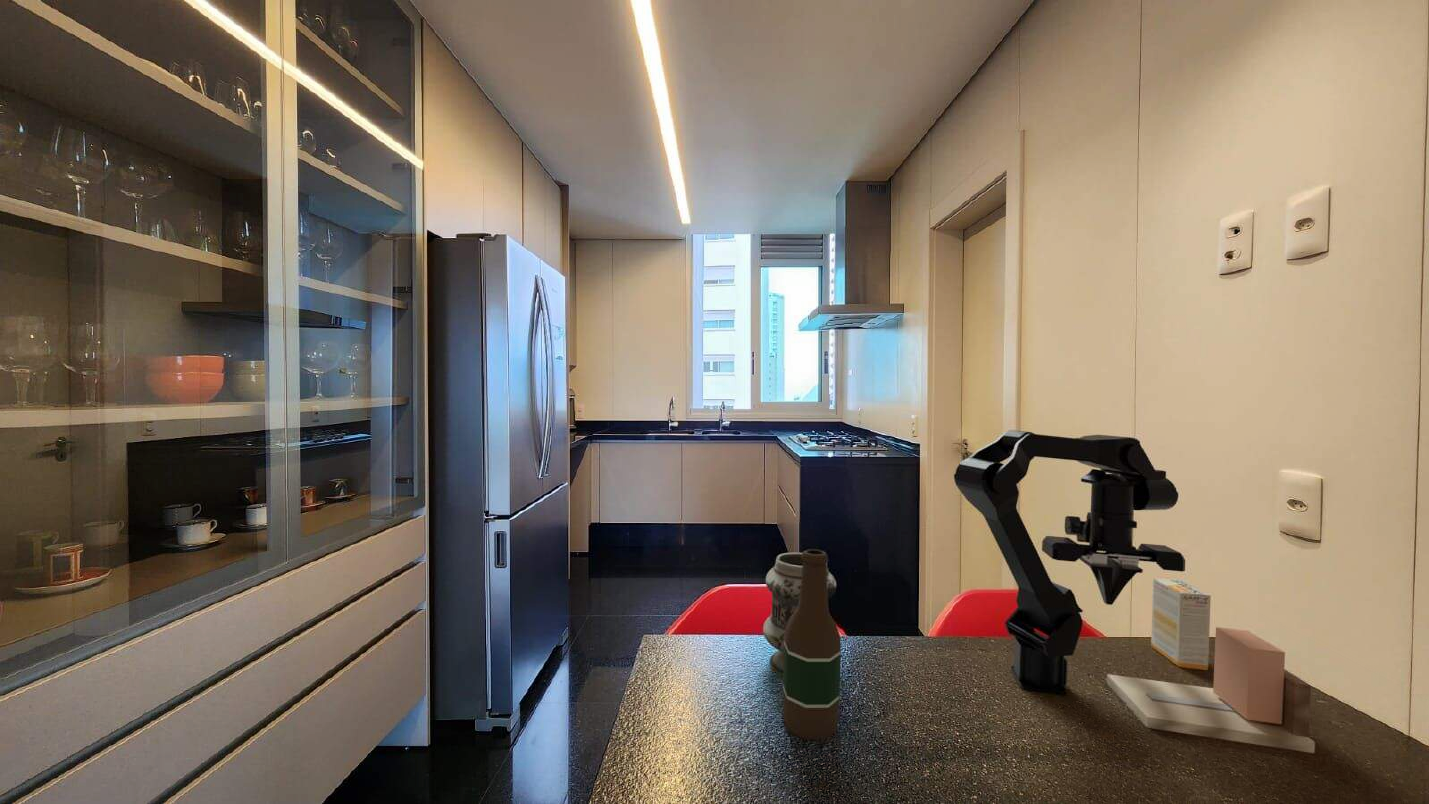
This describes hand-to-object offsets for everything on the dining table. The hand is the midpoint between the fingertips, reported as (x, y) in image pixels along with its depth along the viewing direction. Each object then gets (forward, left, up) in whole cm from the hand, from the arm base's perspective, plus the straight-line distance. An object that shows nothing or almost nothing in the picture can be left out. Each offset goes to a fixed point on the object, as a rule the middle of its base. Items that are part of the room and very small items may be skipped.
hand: (1107, 603), depth 89 cm
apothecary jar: (-50, -12, -12) cm, 53 cm away
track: (+8, -9, -12) cm, 17 cm away
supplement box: (+16, +11, -12) cm, 23 cm away
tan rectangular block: (+14, -9, -10) cm, 19 cm away
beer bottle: (-47, -28, -12) cm, 56 cm away
